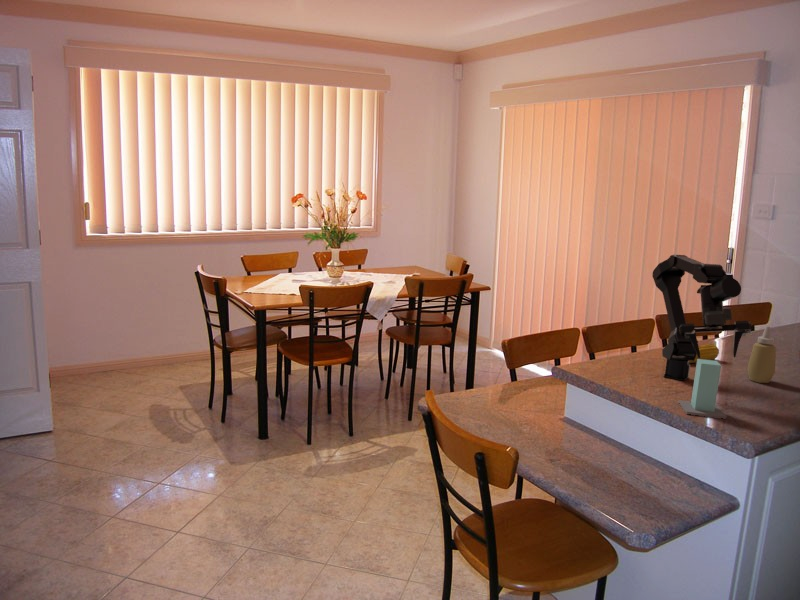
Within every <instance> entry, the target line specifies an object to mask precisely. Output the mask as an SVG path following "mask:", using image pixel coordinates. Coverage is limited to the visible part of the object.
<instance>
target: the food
mask: <svg viewBox="0 0 800 600" xmlns="http://www.w3.org/2000/svg"><path fill="white" fill-rule="evenodd" d="M698 346H699V351H700V359H703V360H716V359H717V358H718V356H719V354H720V349H719V348H718V347H717V346H716V345H714V344H710V343H707V344H704V345H703V344H701V345H698ZM697 359H699V358H698V356H697V355H696V357H695V360H694V361H692V360H689V364H697Z"/></svg>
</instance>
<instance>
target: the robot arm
mask: <svg viewBox="0 0 800 600" xmlns="http://www.w3.org/2000/svg"><path fill="white" fill-rule="evenodd" d="M686 273H687V274H690V275H692V279H693V280H695V282H697V283H699V284H701V285H700V287H699V288H698V289H697V291H696V293H697V294H699V295H700V301H701V314H702V324H703V325H697V326H695V323H687V321H686V317H685V311H684V308H683V304H682V300H681V295H680V292H679V291H680V290H679V287H680V285H681V282H682V278H683V277H684V276H685V274H686ZM651 275H652V278H653V279H652V280H653V281H654V285H655V286H656V288H658V290H659V291H660V292H662V296H663V300H664V305H665V310H666V314H667V317H668V318H667V319H668V322H669V323H668V324H669V328H670V334H669V336H668V339H667V344H666V345H665V346H664V347H663V348H662V353H661V354H662V357H663V358H664V359H666V363H665V370H664V374H663V378H666V379H667V378H668V379H673V380H678V381H686V380H687V379H688V378H689V377H690V371H691V363H689V360H692V361H694V360H695V357H696V355H697V356H698V358H699V359H700V351H699V346H700V345H699V341H698V338H697V333H713V332H715V333H716V332H733V331H734V333H733V345H732V346H733V347H732V354H733V355H732V357H733V358H736V357H737V356H736V355H737V353H738V349H739V344H740V341H741V338H742V337H746V334H750V333H751V331H752V325H751V321H750V320H735V321H734V322H733V323H734V324H733V323H731V324H726V322H727V321H732V319H733V318H732V309H731V308H729V307H728V308H724V302H727V301H730V300H731V299H733V298H736V297H738V296H739V295H740V294H742V293H741V292H742V285H741V284H740V282H739V281H738V280H737V279H735V278H734V274H731V273H730V274H729V273H728V274H727V272H726V271H725V270H724V267H723V265H721V264H713V263H704V262H701V261H698V260H696V259H694V258H691V257H688V256H687V255H685V254H672V255H670V256H669V257H668V258H667V259H665V260H663V261H662V262H659V263H658V264H657V265H656V266H655V268H654V269H653V271H652V274H651Z"/></svg>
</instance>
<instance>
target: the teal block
mask: <svg viewBox="0 0 800 600" xmlns="http://www.w3.org/2000/svg"><path fill="white" fill-rule="evenodd" d="M695 365H696V366H695V373H694V380H693V385H692V386H693V387H692V393H691V400H690V401H691V405H692V406H693V408H694V409H695V410H702V411H710V412H714V411H715V405H717V396H718V391H719V390H718V389H719V384H720V377H721V372H722V364H720V363H719V361H718V360H714V359H712V360H703V359H697V363H695Z"/></svg>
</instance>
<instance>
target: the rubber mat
mask: <svg viewBox="0 0 800 600" xmlns="http://www.w3.org/2000/svg"><path fill="white" fill-rule="evenodd" d="M678 402H679V403H680V404H679V403H678V404H679V406H680V405H681V406H682V407H681V406H680V407H681V409H682V408H683V409H682V410H683V412H684V411H685V412H686V413H685V412H684V413H685V415H686V414H691V415H690V416H695V415H699V416H698V417H704V416H705V417H706V418H712V417H714V418H713V419H721V418H723V419H722V420H727V415H726V414H725V413H724V411H723V410H722V409H721V408H720V407H719V406H718V404H716V405H715V411H714V412H710V411H702V410H695V409H694V408H693V406H692V405H691V400H681V399H679V400H678Z"/></svg>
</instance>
